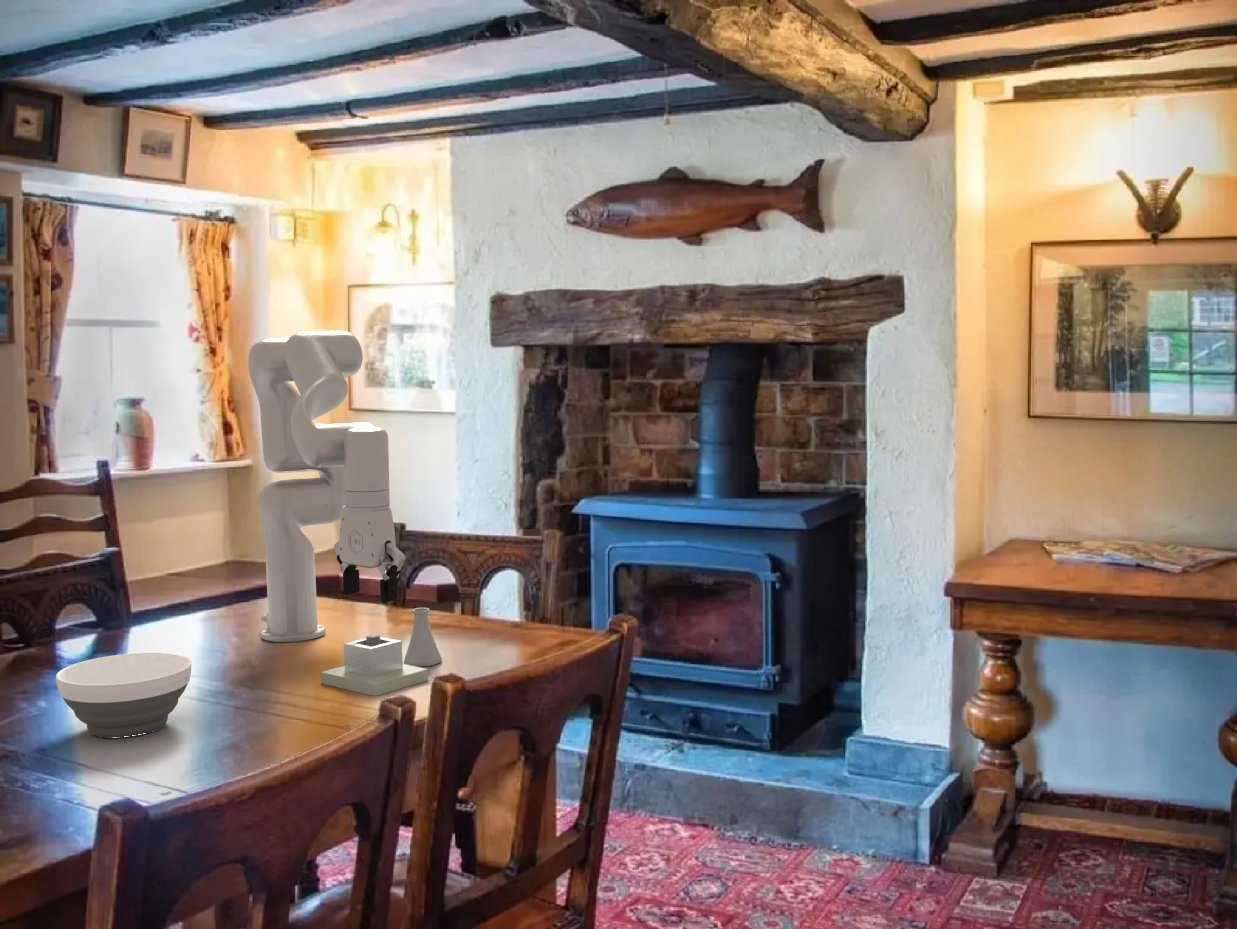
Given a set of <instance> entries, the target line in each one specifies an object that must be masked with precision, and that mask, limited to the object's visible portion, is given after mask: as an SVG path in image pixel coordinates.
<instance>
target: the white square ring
mask: <svg viewBox="0 0 1237 929" xmlns="http://www.w3.org/2000/svg"><path fill="white" fill-rule="evenodd" d="M343 655H344V656H343V658H344V660H343V661H344V666H345V672H348V673H352V674H357V675H361V676H366V677H370V678H373V677H377V676H380V675H384V674H387V673H391V672H394V671H398V670H401V669H403V664H404V662H403V641H402V640H399V639H393V638H389V637H383V636H380V645H376V646H372V647H371V646H366V637H364V638H360V639H356V640H352V641H349V642H345V643H343Z"/></svg>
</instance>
